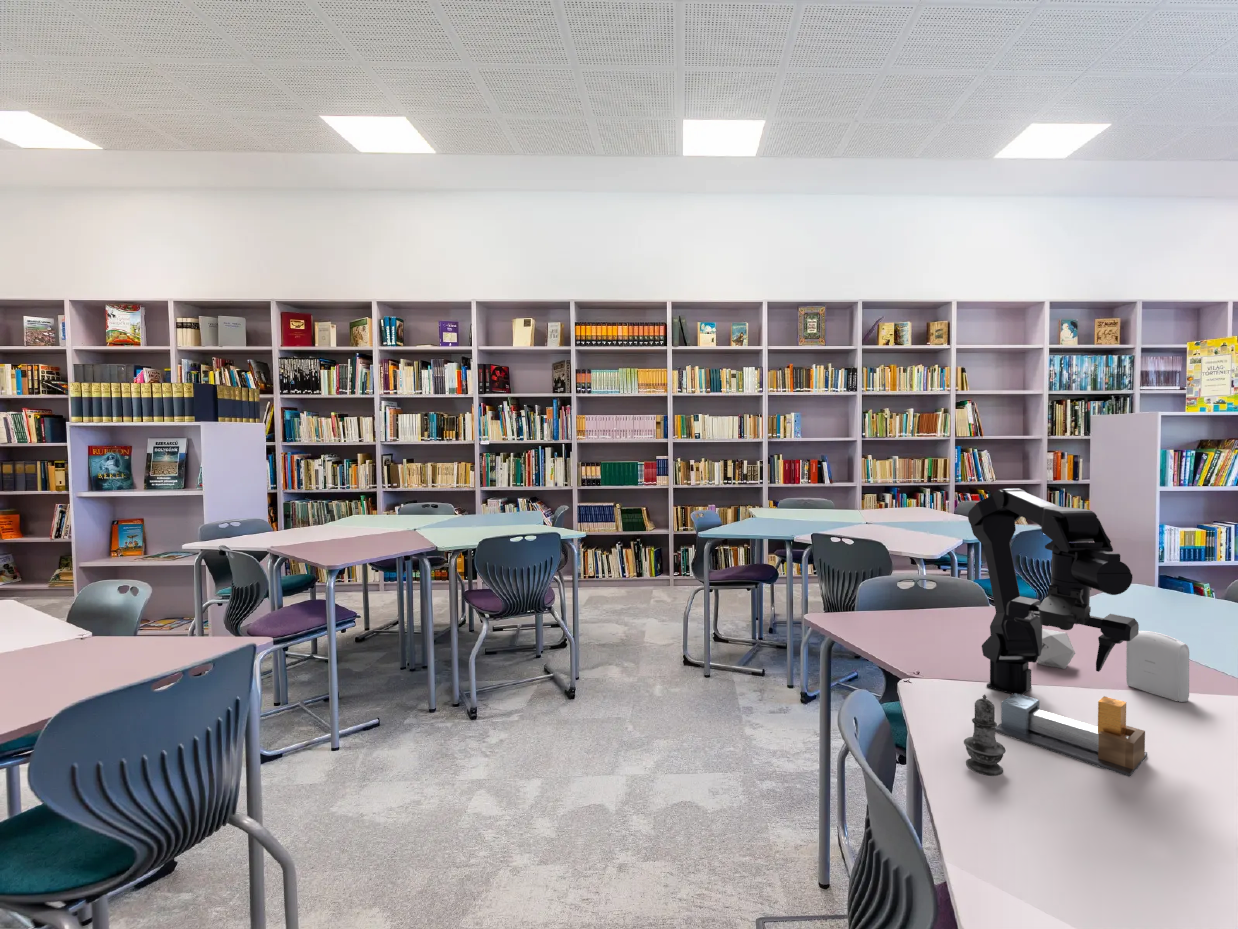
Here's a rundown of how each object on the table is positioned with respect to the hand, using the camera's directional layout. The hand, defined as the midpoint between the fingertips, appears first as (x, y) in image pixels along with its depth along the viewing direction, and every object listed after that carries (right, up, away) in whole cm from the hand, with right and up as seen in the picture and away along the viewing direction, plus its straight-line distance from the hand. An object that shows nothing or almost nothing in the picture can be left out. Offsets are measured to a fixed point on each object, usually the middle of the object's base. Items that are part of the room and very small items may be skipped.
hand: (1067, 663), depth 113 cm
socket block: (+1, -12, -11) cm, 17 cm away
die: (+19, -10, +31) cm, 37 cm away
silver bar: (-4, -11, -5) cm, 13 cm away
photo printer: (+29, -11, +14) cm, 34 cm away
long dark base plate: (-4, -12, -5) cm, 14 cm away
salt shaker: (-23, -13, -12) cm, 29 cm away
